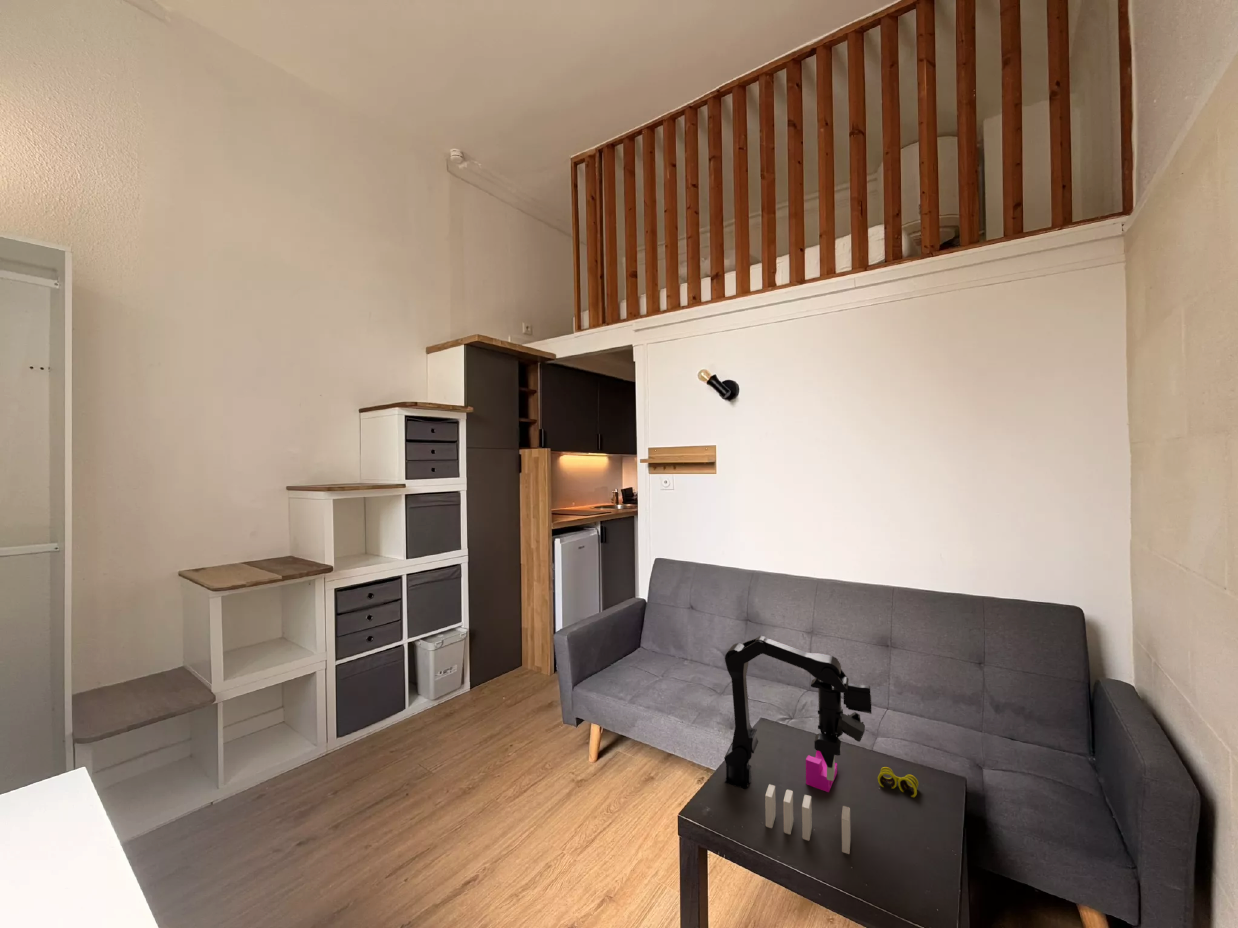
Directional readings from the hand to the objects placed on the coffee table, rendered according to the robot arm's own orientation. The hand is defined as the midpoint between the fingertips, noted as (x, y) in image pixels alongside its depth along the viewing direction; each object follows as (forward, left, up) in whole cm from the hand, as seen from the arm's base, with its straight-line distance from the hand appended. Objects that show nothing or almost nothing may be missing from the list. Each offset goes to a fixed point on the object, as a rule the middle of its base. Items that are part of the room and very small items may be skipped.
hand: (830, 761), depth 133 cm
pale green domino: (0, 0, -4) cm, 4 cm away
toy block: (-3, +13, -12) cm, 18 cm away
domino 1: (-14, -13, -12) cm, 22 cm away
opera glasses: (+16, +16, -12) cm, 26 cm away
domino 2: (-9, -13, -12) cm, 20 cm away
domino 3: (-5, -13, -12) cm, 19 cm away
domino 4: (+4, -13, -12) cm, 19 cm away
